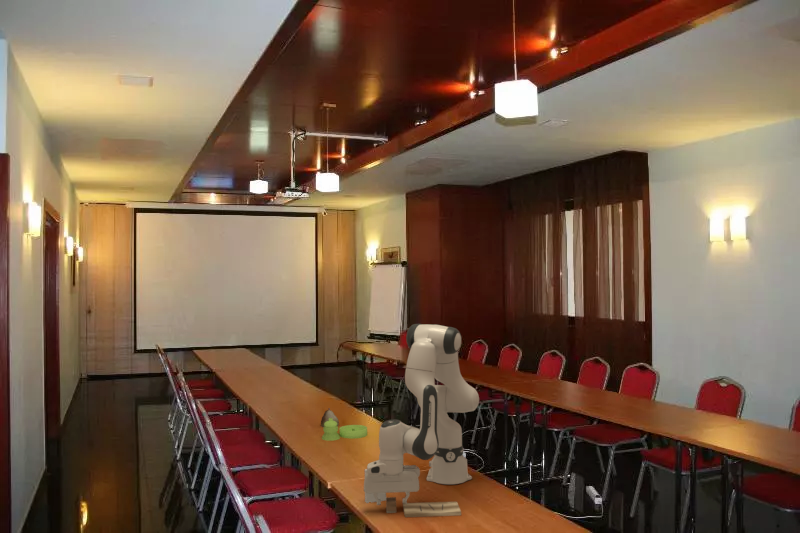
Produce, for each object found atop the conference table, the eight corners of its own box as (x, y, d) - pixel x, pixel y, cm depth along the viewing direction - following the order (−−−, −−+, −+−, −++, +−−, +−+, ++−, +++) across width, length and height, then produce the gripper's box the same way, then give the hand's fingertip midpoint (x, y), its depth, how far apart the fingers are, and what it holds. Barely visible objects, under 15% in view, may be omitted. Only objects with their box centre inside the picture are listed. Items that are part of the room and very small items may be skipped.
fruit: (333, 427, 376) (333, 406, 376) (342, 430, 369) (342, 409, 369) (318, 430, 370) (317, 409, 370) (327, 433, 362) (327, 411, 362)
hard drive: (364, 502, 249) (364, 469, 249) (385, 499, 252) (384, 466, 252) (366, 503, 247) (365, 470, 248) (386, 500, 250) (386, 467, 251)
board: (403, 506, 244) (403, 503, 244) (456, 504, 245) (456, 501, 245) (404, 517, 233) (404, 513, 233) (461, 515, 234) (461, 511, 234)
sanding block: (386, 508, 242) (386, 497, 242) (395, 508, 243) (395, 497, 243) (386, 513, 237) (386, 501, 237) (396, 512, 238) (396, 501, 238)
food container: (359, 434, 359) (359, 411, 359) (372, 440, 346) (371, 416, 346) (316, 441, 346) (316, 417, 346) (328, 447, 333) (328, 422, 334)
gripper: (418, 462, 244) (419, 500, 243) (363, 464, 242) (363, 502, 242) (420, 467, 237) (421, 506, 237) (363, 469, 236) (364, 508, 236)
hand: (391, 504), depth 240 cm, fingers open, 8 cm apart
